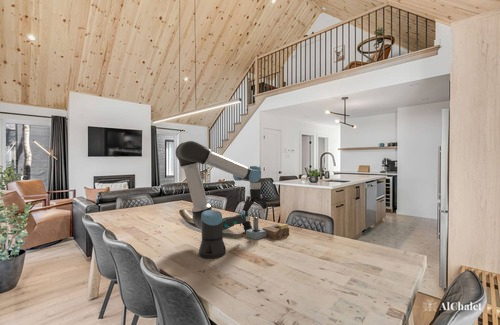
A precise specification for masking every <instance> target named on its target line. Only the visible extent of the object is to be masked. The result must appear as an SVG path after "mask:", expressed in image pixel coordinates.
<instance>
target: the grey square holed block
mask: <svg viewBox="0 0 500 325" xmlns="http://www.w3.org/2000/svg"><path fill="white" fill-rule="evenodd" d="M245 237H247V238H249V239H252V240H255V241H256V240H259V239H262V238H265V237H266V230H263V229H262V228H259V227H258V232H254V228H253V227H252V229H249V230H246V234H245ZM266 238H267V237H266Z"/></svg>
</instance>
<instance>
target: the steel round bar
mask: <svg viewBox="0 0 500 325" xmlns="http://www.w3.org/2000/svg"><path fill="white" fill-rule="evenodd" d="M252 220H253V222H252V224H253V226H252V229H253V228H254V232H258V228H259V216H253V217H252Z"/></svg>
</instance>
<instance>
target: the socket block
mask: <svg viewBox="0 0 500 325" xmlns="http://www.w3.org/2000/svg"><path fill="white" fill-rule="evenodd" d="M279 225H280V224H273V225H269V226H264V227H262V228H261V229H263V230H266V238H270V239H272V240H277V239H281V238H284V237H288V236H290V227H288V228H285V229H279Z"/></svg>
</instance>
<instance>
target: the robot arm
mask: <svg viewBox="0 0 500 325" xmlns="http://www.w3.org/2000/svg"><path fill="white" fill-rule="evenodd" d="M175 156H176V158H177V160H178V163H179V166H180V168H182V169H183V170H184V174H185V178H186V179H185V180H186V182H187V188H188V190H189V195H190V198H191V201H192V205H193V206H192V207H193V208H192V209H191V211H192V212H191V213H192V222H193V224H194V226H196V227H197V228H199V230H201V242H200V244H199V249H198V256H199V257H200V258H203V259H218V258H220V257H223V256H225V255H226V253H227V248H226V246H225V245H226V244H225V242H224V239H223V229H222V220H223V218H224V217H223V214H222V212H221V211H219V210H215V209H213V208H212V205H211V204H210V203H209V202H208V200H207V196H206V192H205V187H204V184H203V180H202V176H201V171H200V167H199V164H201V165H208V166H210V167H213V168H215V169H218V170H220V171H223V172H225V173H228V174H231V175H232V178H233V180H234V181H238V182H240V181H244V182H249V188H250V189H249V195H250V196H249V195H248V196H246V198H245V201H244V204H243V208H242V212H243V211H244V213H245V216H246V221H249V217H250V209H251V208H252V205H253V204H254V203H258V204H259V206H260V207H261V208H260V209H261V211H260V212H261V213H260V217H261V219H265V217H266V216H265V214H266V210H267V208H268V204H267V202H266V198H265V195H264V194H262V189H261V188H262V180H261V179H262V171H261V166H259V165H250V166H249V167H248V166H245V165H243V164H241V163H239V162H236V161H234V160H231V159H230V158H227V157H225V156H223V155H220V154H218V153H216V152H214V151H211V148H210V147H209V148H208V147H207V146H204V145H203V144H201V143H199V142H196V141H194V140H189V141H183V142H181V143H180V144H178V146H177V147H176V148H175Z"/></svg>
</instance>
